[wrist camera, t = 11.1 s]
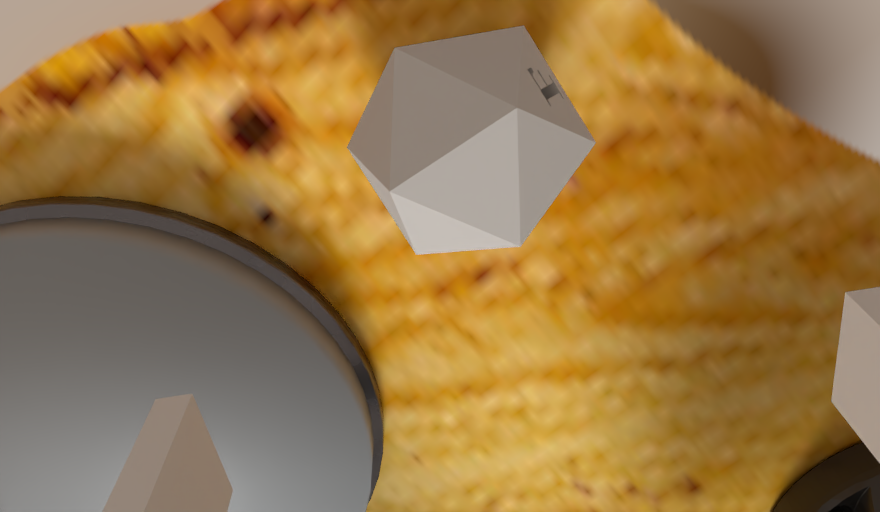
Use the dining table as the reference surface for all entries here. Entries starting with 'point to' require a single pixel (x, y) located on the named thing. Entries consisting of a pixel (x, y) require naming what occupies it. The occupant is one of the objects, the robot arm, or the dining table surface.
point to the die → (469, 140)
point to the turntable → (166, 370)
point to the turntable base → (235, 249)
